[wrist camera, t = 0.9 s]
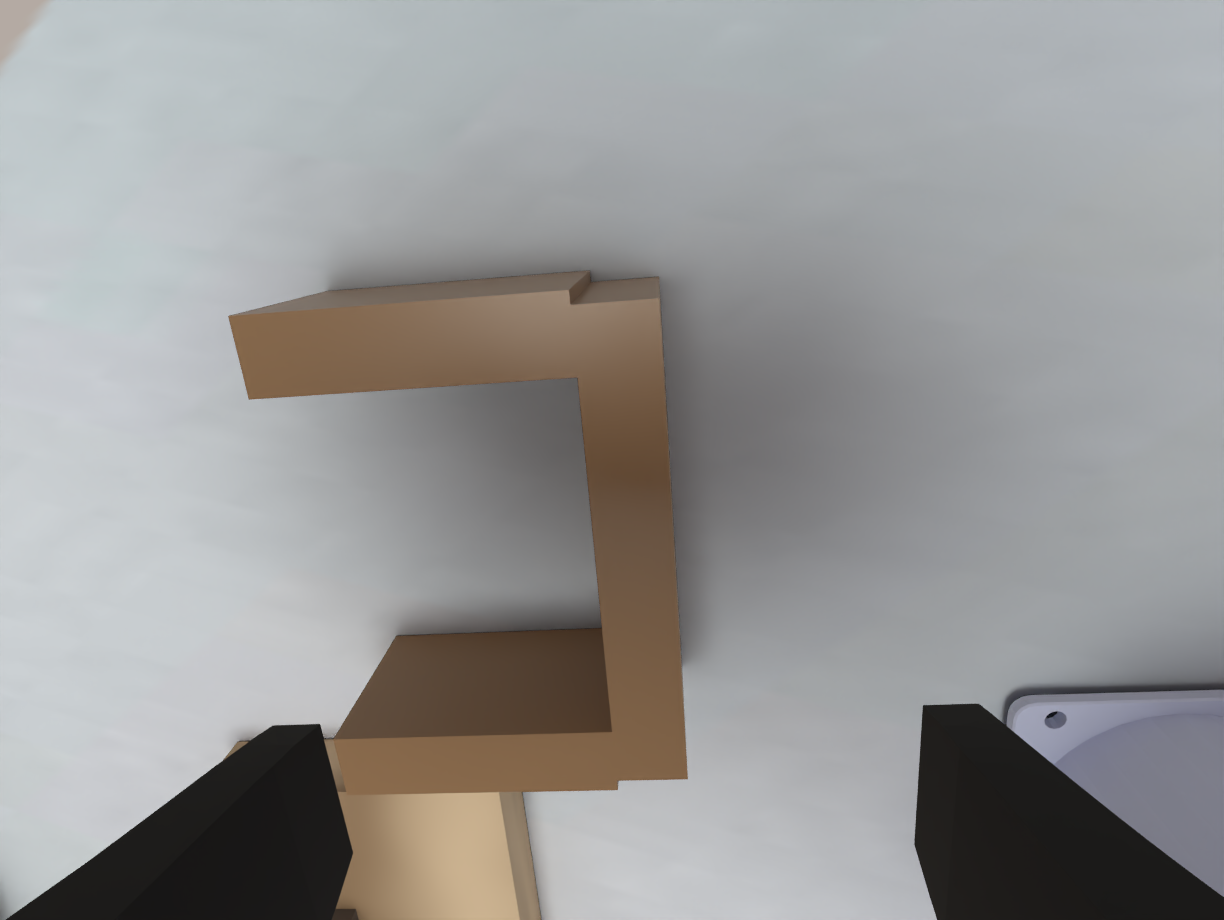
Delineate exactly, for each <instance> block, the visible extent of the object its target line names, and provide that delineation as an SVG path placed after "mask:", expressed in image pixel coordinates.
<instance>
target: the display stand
mask: <svg viewBox="0 0 1224 920" xmlns="http://www.w3.org/2000/svg"><path fill="white" fill-rule="evenodd" d="M248 742H249V741H246V742H237V743H236V745H235V746H234V747H233V748H232V750H231V751H230V752H229V753H228V755H227V756H226V757H225V759H226V758H227V757H229V756H230V755H231V754H233V753H234V752H235V751H237V750H238V749H240V748H241V747H242V746H244V745H245V744H247V743H248ZM324 742H325V745H326V749H327V753H328V757H329V761H330V765H331V769H332V773H333V776H334V780H335V784H336V788H337V792H338V796H339V800H340V804H341V807H342V811H343V815H344V819H345V823H346V827H347V831H348V835H349V839H350V842H351V846H352V850H353V855H352V859H351V862H350V865H349V868H348V871H347V875H346V878H345V881H344V884H343V887H342V891H341V894H340V897H339V900H338V903H337V906H336V909H335V912H334V915H333V918H332V920H541V915H540V908H539V902H538V895H537V888H536V882H535V875H534V869H533V862H532V855H531V849H530V842H529V835H528V829H527V822H526V816H525V809H524V802H523V796H522V792H487V793H436V794H385V795H347V793H346V789H345V785H344V781H343V777H342V773H341V769H340V765H339V761H338V757H337V753H336V749H335V745H334V741H333V739H324ZM225 759H224V760H225Z"/></svg>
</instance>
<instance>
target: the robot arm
mask: <svg viewBox="0 0 1224 920" xmlns="http://www.w3.org/2000/svg"><path fill="white" fill-rule="evenodd" d="M1056 711H1058V712H1057V714H1056V715H1055V716H1053V717H1051V718H1047V719H1046V716H1047V715H1049V714H1050V713H1051V712H1056ZM915 848H916V851H917V855H918V858H919V861H920V865H921V868H922V871H923V875H924V878H925V881H926V885H927V888H928V892H929V895H930V898H931V901H932V904H933V908H934V911H935V914H936V917H937V920H1224V690H1194V691H1159V692H1125V693H1090V694H1055V695H1029V696H1023V697H1021V698H1019V699H1017V700H1015V701H1014V702H1013V703H1012V704H1011V706H1010V708H1009V711H1008V716H1007V725H1005V724H1003V723H1002V722H1001V721H1000V720H998V719H997V718H996V717H995V716H993V715H992V714H991V713H990V712H988V711H987V710H986V709H985V708H983V707H982V706H981V705H979V704H952V705H923V714H922V730H921V747H920V763H919V779H918V795H917V811H916V827H915ZM352 855H353V850H352V846H351V842H350V839H349V835H348V831H347V827H346V823H345V819H344V815H343V811H342V807H341V804H340V800H339V796H338V792H337V788H336V784H335V780H334V776H333V773H332V769H331V765H330V761H329V757H328V753H327V749H326V745H325V742H324V738H323V734H322V730H321V726H320V724H309V725H277V726H272V727H270V728H269V729H267V730H266V731H264V732H263V733H261V734H260V735H258V736H257V737H255V738H254V739H252V740H251V741H249V742H248V743H247V744H245V745H244V746H242V747H241V748H240V749H238V750H237V751H235V752H234V753H233V754H231V755H230V756H229V757H227V758H226V759H225V760H223V761H222V762H221V763H219V764H218V765H216V766H215V767H214V768H212V769H211V770H210V771H208V772H207V773H206V774H204V775H203V776H202V777H200V778H199V779H198V780H196V781H195V782H194V783H192V784H191V785H190V786H189V787H187V788H186V789H185V790H183V791H182V792H181V793H179V794H178V795H177V796H175V797H174V798H173V799H171V800H170V801H169V802H167V803H166V804H165V805H163V806H162V807H161V808H159V809H158V810H157V811H155V812H154V813H153V814H151V815H150V816H149V817H147V818H146V819H145V820H143V821H142V822H141V823H139V824H138V825H137V826H135V827H134V828H133V829H131V830H130V831H129V832H127V833H126V834H124V835H123V836H122V837H120V838H119V839H118V840H116V841H115V842H114V843H112V844H111V845H110V846H108V847H107V848H106V849H104V850H103V851H102V852H100V853H99V854H98V855H96V856H95V857H94V858H92V859H91V860H90V861H88V862H87V863H85V864H84V865H83V866H81V867H80V868H78V869H77V870H75V871H74V872H73V873H71V874H70V875H68V876H67V877H66V878H64V879H63V880H61V881H60V882H58V883H57V884H56V885H54V886H53V887H51V888H50V889H49V890H47V891H46V892H44V893H43V894H41V895H40V896H39V897H37V898H36V899H34V900H33V901H32V902H30V903H29V904H27V905H26V906H24V907H23V908H22V909H20V910H19V911H17V912H16V913H15V914H13V915H12V916H10V917H9V918H7V919H6V920H332V918H333V915H334V912H335V909H336V906H337V903H338V900H339V897H340V894H341V891H342V887H343V884H344V881H345V878H346V875H347V871H348V868H349V865H350V862H351V859H352Z"/></svg>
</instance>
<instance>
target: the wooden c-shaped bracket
mask: <svg viewBox="0 0 1224 920" xmlns="http://www.w3.org/2000/svg"><path fill="white" fill-rule="evenodd" d="M228 317H229V321H230V325H231V329H232V333H233V337H234V341H235V345H236V349H237V353H238V357H239V361H240V365H241V369H242V373H243V377H244V381H245V386H246V390H247V394H248V398H249V399H263V398H278V397H293V396H308V395H323V394H338V393H353V392H368V391H383V390H398V389H413V388H428V387H443V386H458V385H473V384H488V383H503V382H517V381H532V380H547V379H562V378H578V388H579V399H580V409H581V419H582V429H583V440H584V450H585V460H586V470H587V480H588V491H589V501H590V511H591V521H592V531H593V542H594V552H595V562H596V572H597V583H598V593H599V603H600V613H601V623H602V628H593V629H566V630H540V631H514V632H488V633H461V634H435V635H409V636H396V637H395V639H394V641H393V642H392V644H391V646H390V647H389V649H388V651H387V652H386V654H385V655H384V657H383V659H382V660H381V662H380V664H379V665H378V667H377V669H376V670H375V672H374V674H373V675H372V677H371V678H370V680H369V682H368V683H367V685H366V687H365V688H364V690H363V692H362V693H361V695H360V696H359V698H358V700H357V701H356V703H355V705H354V706H353V708H352V710H351V711H350V713H349V714H348V716H347V718H346V719H345V721H344V723H343V724H342V726H341V728H340V729H339V731H338V732H337V734H336V736H335V737H334V739H333V741H334V745H335V749H336V753H337V757H338V761H339V765H340V769H341V773H342V777H343V781H344V785H345V789H346V793H347V795H385V794H436V793H487V792H538V791H589V790H618V781H620V780H668V779H688V776H687V756H686V737H685V717H684V698H683V678H682V660H681V643H680V626H679V609H678V592H677V574H676V557H675V540H674V523H673V506H672V489H671V472H670V455H669V438H668V421H667V404H666V387H665V370H664V353H663V336H662V319H661V301H660V284H659V277H649V278H636V279H623V280H610V281H598V282H591V277H590V270H588V271H576V272H563V273H550V274H538V275H525V276H512V277H500V278H487V279H474V280H462V281H449V282H436V283H424V284H411V285H398V286H386V287H373V288H360V289H348V290H335V291H325V292H321V293H317V294H313V295H309V296H305V297H302V298H298V299H294V300H290V301H286V302H282V303H278V304H274V305H270V306H266V307H262V308H258V309H254V310H250V311H246V312H242V313H238V314H234V315H230V316H228Z"/></svg>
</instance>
